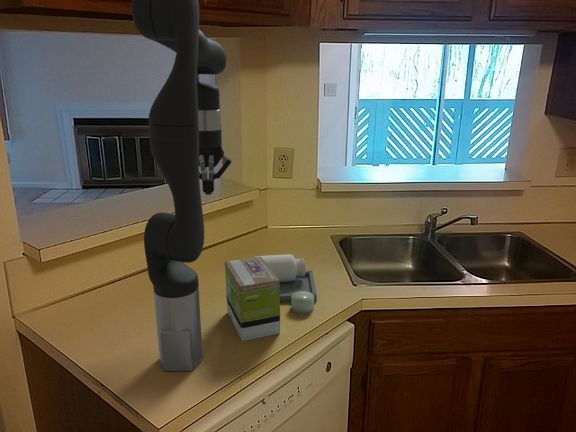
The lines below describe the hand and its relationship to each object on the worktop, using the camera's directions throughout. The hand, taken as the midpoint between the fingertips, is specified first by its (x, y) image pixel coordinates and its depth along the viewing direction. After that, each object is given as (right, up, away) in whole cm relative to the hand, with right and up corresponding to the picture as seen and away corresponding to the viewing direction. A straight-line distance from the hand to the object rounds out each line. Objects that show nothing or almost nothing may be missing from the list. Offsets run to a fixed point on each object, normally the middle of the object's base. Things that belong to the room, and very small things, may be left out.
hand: (208, 193), depth 129 cm
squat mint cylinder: (+25, -30, +1) cm, 39 cm away
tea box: (+12, -33, -6) cm, 36 cm away
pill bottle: (+11, -22, +13) cm, 27 cm away
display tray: (+20, -27, +12) cm, 35 cm away
